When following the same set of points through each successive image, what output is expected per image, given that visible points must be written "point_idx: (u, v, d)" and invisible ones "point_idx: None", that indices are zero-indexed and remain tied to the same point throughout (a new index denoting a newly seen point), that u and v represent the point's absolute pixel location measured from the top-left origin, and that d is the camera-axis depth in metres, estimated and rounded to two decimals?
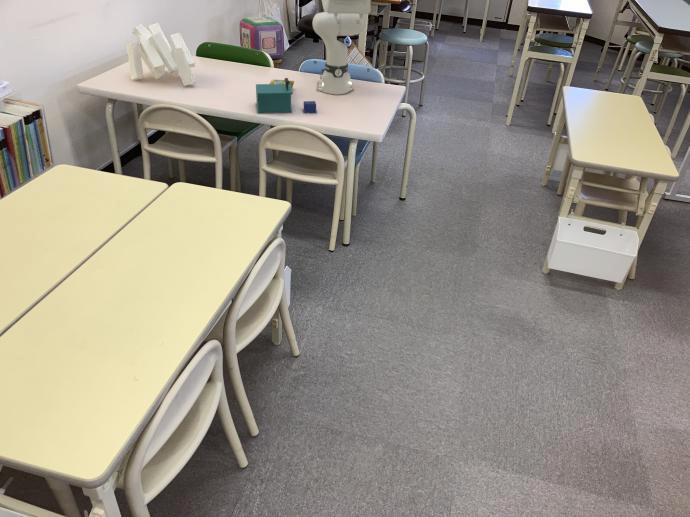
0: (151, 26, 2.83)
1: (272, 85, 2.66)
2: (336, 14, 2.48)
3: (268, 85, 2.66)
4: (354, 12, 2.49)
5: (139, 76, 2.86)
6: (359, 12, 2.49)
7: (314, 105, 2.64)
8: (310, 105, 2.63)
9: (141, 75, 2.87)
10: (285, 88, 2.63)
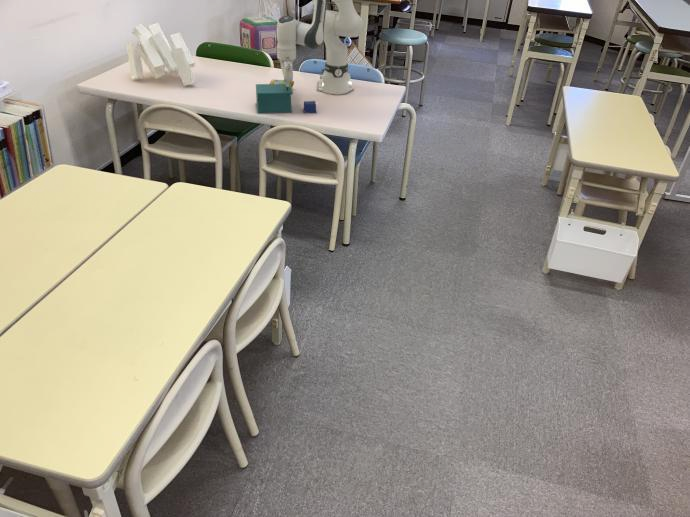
0: (151, 26, 2.83)
1: (272, 85, 2.66)
2: None
3: (268, 85, 2.66)
4: (283, 74, 2.57)
5: (139, 76, 2.86)
6: None
7: (314, 105, 2.64)
8: (310, 105, 2.63)
9: (141, 75, 2.87)
10: (285, 88, 2.64)
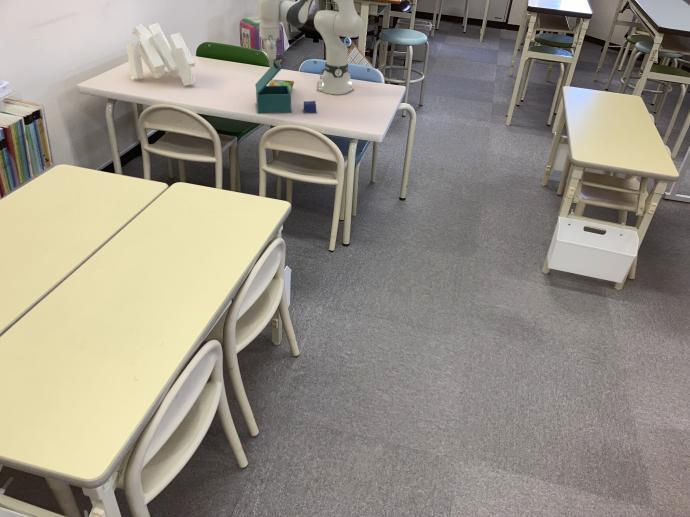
0: (151, 26, 2.83)
1: (266, 73, 2.62)
2: None
3: (263, 76, 2.63)
4: None
5: (139, 76, 2.86)
6: (267, 55, 2.49)
7: (314, 105, 2.64)
8: (310, 105, 2.63)
9: (141, 75, 2.87)
10: (275, 67, 2.57)
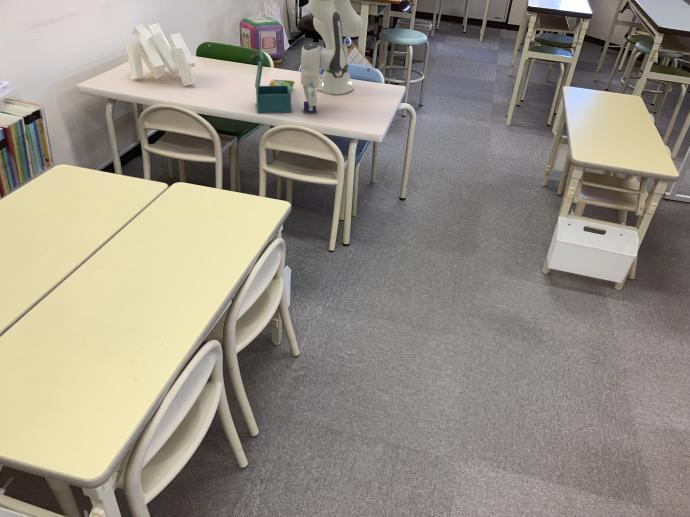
0: (151, 26, 2.83)
1: (257, 70, 2.60)
2: None
3: (257, 73, 2.62)
4: (307, 99, 2.61)
5: (139, 76, 2.86)
6: None
7: None
8: None
9: (141, 75, 2.87)
10: (260, 60, 2.54)
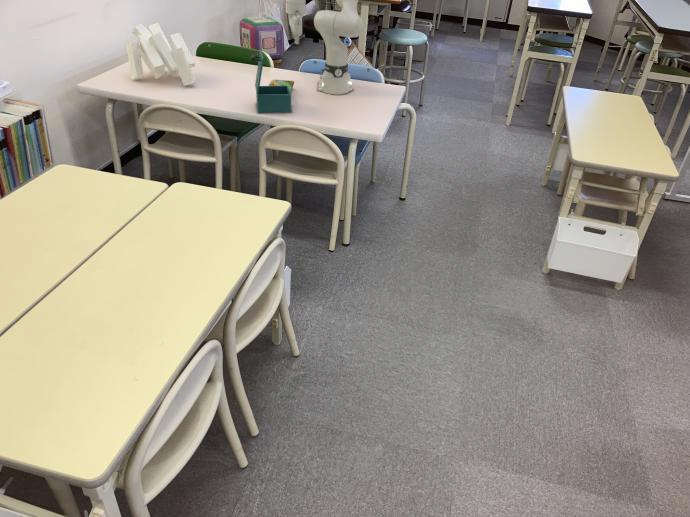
0: (151, 26, 2.83)
1: (257, 70, 2.60)
2: None
3: (257, 73, 2.62)
4: (292, 30, 2.48)
5: (139, 76, 2.86)
6: (292, 31, 2.46)
7: None
8: None
9: (141, 75, 2.87)
10: (260, 60, 2.54)
